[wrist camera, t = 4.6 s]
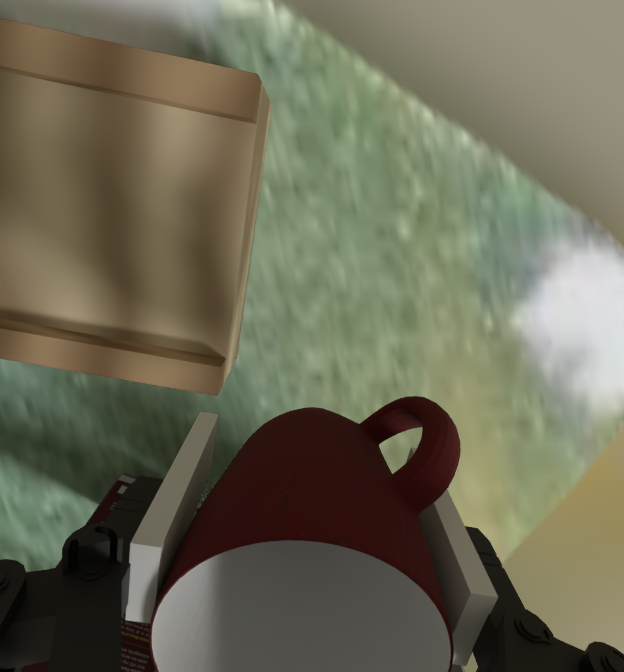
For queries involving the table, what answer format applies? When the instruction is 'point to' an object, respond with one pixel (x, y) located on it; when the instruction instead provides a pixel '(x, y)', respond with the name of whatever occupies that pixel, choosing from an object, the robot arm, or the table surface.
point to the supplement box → (133, 634)
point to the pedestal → (125, 207)
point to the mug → (314, 552)
